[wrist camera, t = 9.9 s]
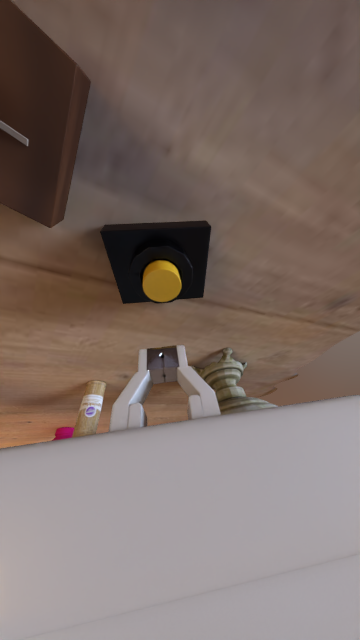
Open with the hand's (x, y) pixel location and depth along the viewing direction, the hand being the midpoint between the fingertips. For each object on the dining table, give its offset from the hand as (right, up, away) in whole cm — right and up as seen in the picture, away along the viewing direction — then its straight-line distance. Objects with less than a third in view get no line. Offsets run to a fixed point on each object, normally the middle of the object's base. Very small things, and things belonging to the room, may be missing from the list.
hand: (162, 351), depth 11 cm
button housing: (-1, +10, +10) cm, 14 cm away
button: (-1, +7, +7) cm, 10 cm away
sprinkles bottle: (-20, -14, +30) cm, 38 cm away
